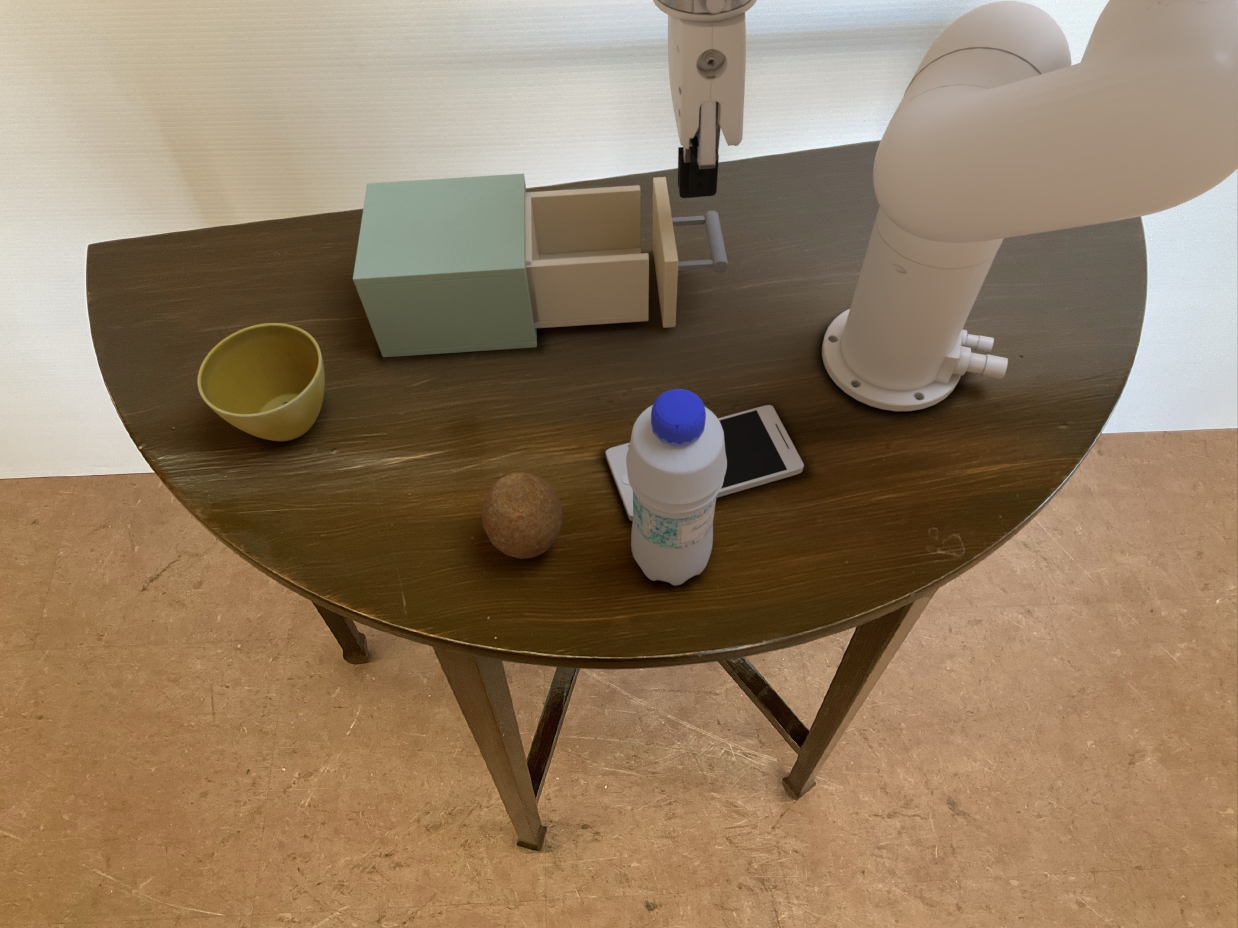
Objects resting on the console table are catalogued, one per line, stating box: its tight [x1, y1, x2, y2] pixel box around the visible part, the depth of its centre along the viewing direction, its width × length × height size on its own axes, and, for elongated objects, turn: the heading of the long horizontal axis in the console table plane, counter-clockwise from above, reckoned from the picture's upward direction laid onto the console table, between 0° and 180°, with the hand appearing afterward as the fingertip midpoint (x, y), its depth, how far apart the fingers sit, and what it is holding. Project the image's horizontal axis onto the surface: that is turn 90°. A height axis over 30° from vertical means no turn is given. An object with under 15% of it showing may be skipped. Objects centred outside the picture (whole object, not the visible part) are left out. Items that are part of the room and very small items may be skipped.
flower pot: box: [197, 322, 326, 442], centre depth 74 cm, size 10×10×7 cm
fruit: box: [481, 471, 563, 560], centre depth 66 cm, size 6×6×8 cm
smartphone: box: [605, 404, 805, 522], centre depth 73 cm, size 7×15×1 cm, turn 108°
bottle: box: [626, 388, 727, 586], centre depth 60 cm, size 7×7×20 cm
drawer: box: [525, 176, 729, 329], centre depth 80 cm, size 18×11×8 cm, turn 94°
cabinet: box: [352, 173, 538, 358], centre depth 80 cm, size 15×13×10 cm
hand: (696, 190), depth 75 cm, fingers closed
